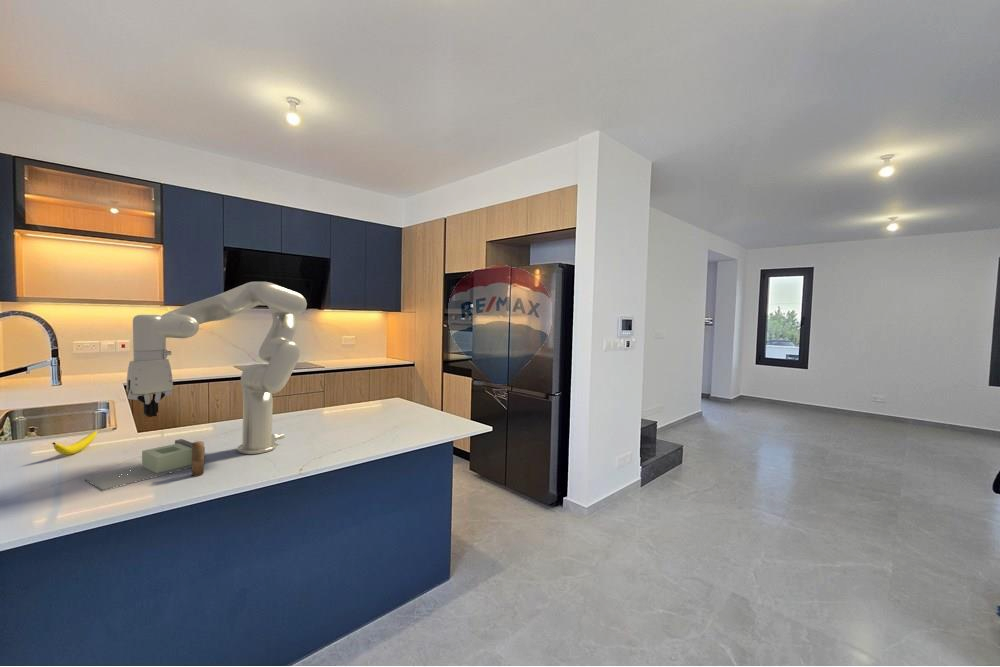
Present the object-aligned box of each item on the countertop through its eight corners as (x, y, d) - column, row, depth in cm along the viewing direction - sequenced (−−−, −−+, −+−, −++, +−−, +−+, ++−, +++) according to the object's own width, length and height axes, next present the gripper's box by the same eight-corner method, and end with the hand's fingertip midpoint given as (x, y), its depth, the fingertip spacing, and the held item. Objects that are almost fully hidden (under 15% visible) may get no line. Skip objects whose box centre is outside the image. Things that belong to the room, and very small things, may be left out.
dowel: (200, 471, 132) (200, 440, 131) (205, 474, 130) (205, 442, 130) (189, 474, 129) (190, 443, 129) (194, 477, 128) (195, 445, 127)
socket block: (178, 457, 142) (178, 443, 141) (193, 463, 137) (193, 448, 136) (142, 466, 133) (142, 450, 133) (156, 473, 128) (157, 457, 128)
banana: (102, 443, 153) (102, 426, 153) (58, 462, 135) (58, 442, 134) (93, 443, 153) (93, 426, 152) (47, 462, 134) (47, 442, 134)
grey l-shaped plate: (181, 455, 145) (181, 438, 144) (204, 465, 137) (204, 447, 137) (83, 479, 123) (83, 459, 122) (104, 491, 115) (104, 470, 115)
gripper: (173, 352, 133) (174, 409, 135) (112, 356, 121) (114, 419, 122) (184, 355, 130) (185, 413, 131) (122, 359, 117) (124, 423, 118)
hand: (151, 415), depth 126 cm, fingers closed
